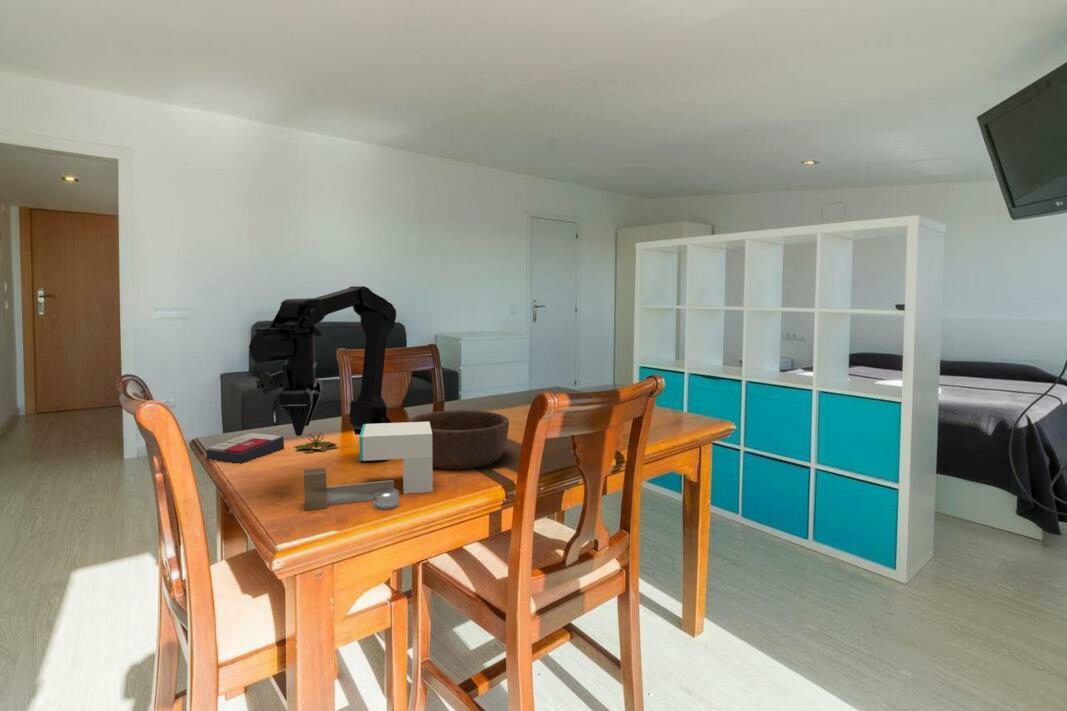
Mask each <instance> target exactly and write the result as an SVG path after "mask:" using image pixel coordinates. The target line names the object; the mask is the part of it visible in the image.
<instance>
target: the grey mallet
mask: <svg viewBox="0 0 1067 711" xmlns="http://www.w3.org/2000/svg"><path fill="white" fill-rule="evenodd" d="M326 469H327V467H326V466H325V467H316V468H315V467H314V468H313V467H311V468H304V469H303V487H304V488H303V490H304V491H303V492H304V493H303V494H304V496H303V497H304V511H314V510H323V509H328V506H334V505H335V506H336V505H342V504H343V505H344V504H350V503H351V504H352V503H359V502H361V503H362V502H367V501H369V500H370V501H374V492H375V491H377V490H380V489H385V488H393V489H395V480H394V479H389V480H380V481H371V482H370V481H369V482H361V483H350V484H342V485H341V484H340V485H331V486H327V470H326ZM370 501H369V502H370Z"/></svg>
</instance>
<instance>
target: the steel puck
mask: <svg viewBox="0 0 1067 711" xmlns="http://www.w3.org/2000/svg"><path fill="white" fill-rule="evenodd" d="M399 506H400V491H399V490H398V489H397V488H394V489H393V488H385V489H380V490H377V491H375V492H374V500H373V508H374V507H375V508H377V509H376V510H378V509H380V510H379V511H389V510H394V509H397V508H398V507H399ZM375 508H374V509H375Z"/></svg>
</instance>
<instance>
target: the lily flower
mask: <svg viewBox="0 0 1067 711" xmlns="http://www.w3.org/2000/svg"><path fill="white" fill-rule="evenodd" d="M307 436H309V437H307V439H308V440H309V442H308V443H307V442H306V443H305V444H299V445H294V446H293V448H296V449H295V450H294V451H295V452H296V451H297V452H298V451H301V450H304V452H305V454H309V453H312V452H315V451H316V452H317V451H321V452H323V453H326V451H327V450H328V449H338V448H339V447H338V446H336V443H334V442H331V441H325V440H324V441H322V440H323V439H324V437H325V436H324V433H323V432H320V433H317V435H315V432H313V434H312V433H310V432H309V434H307ZM320 437H321V438H320ZM311 438H312V439H313V440H312V439H311ZM310 441H311V442H310ZM312 449H314V450H312Z"/></svg>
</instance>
